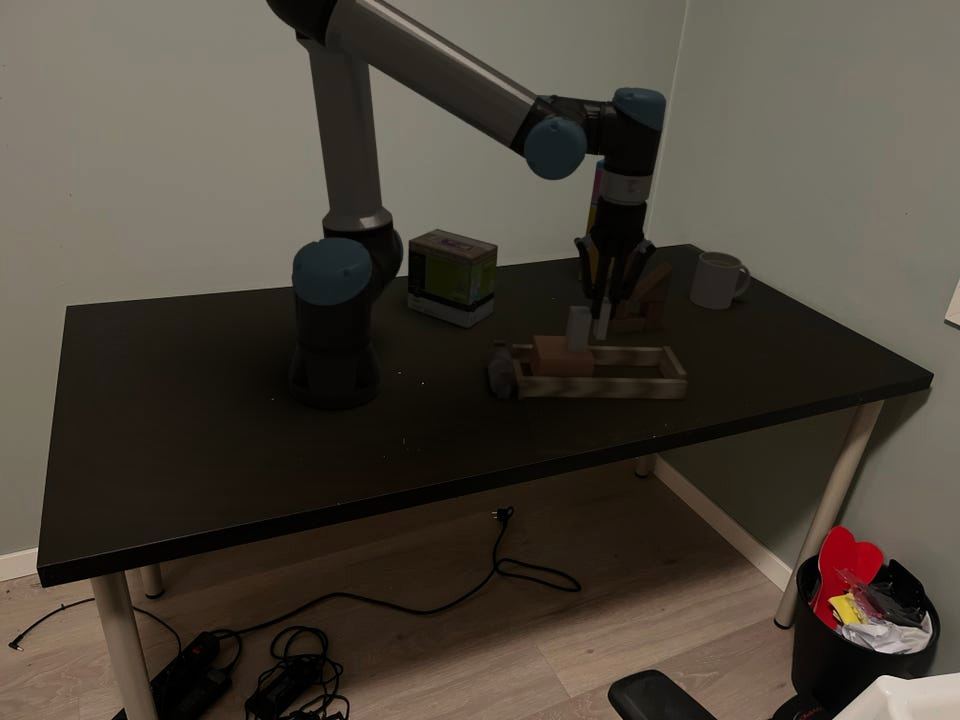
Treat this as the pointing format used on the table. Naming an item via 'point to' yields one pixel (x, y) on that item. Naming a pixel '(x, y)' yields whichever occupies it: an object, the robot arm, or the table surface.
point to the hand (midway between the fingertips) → (598, 335)
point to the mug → (717, 280)
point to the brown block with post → (565, 349)
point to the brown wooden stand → (643, 301)
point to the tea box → (451, 277)
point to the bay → (510, 377)
